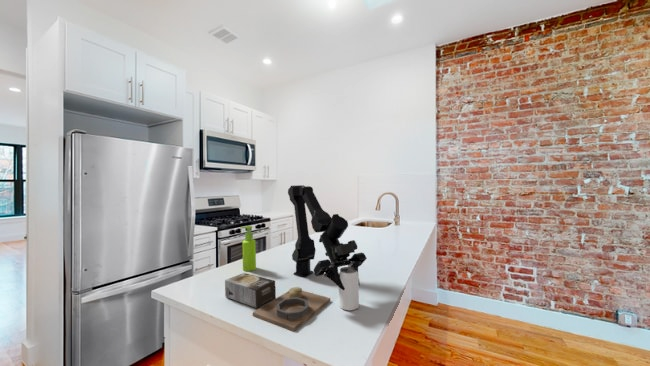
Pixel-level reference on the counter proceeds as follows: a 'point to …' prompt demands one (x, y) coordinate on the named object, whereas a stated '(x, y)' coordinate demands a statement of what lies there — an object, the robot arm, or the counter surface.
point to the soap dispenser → (249, 250)
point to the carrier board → (292, 308)
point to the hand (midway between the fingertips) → (351, 287)
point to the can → (349, 289)
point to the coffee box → (250, 289)
